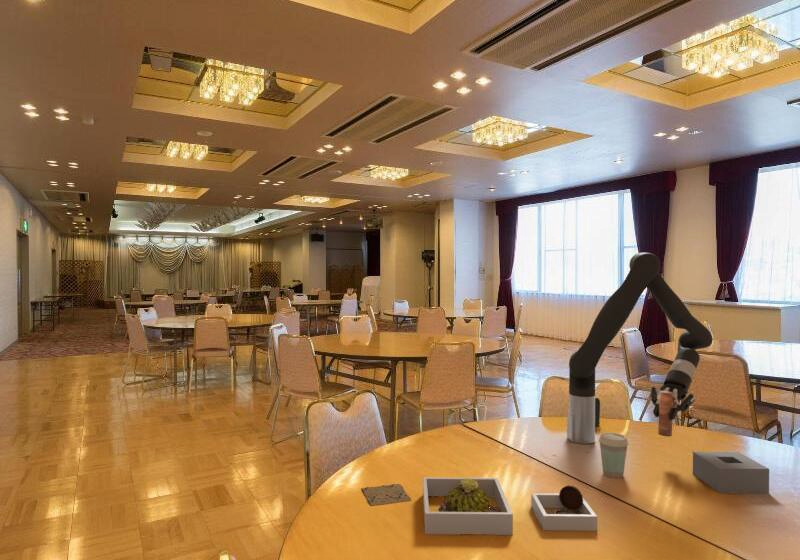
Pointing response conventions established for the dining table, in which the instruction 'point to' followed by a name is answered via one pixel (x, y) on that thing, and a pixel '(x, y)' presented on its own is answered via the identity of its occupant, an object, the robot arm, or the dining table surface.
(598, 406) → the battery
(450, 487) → the cactus tray
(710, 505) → the dining table surface
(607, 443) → the coffee cup
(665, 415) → the pin
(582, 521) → the tray
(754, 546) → the dining table surface
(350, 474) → the dining table surface
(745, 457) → the hole block
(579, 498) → the dark brown rounded piece
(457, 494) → the cactus
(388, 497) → the speckled stone tile
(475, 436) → the dining table surface
